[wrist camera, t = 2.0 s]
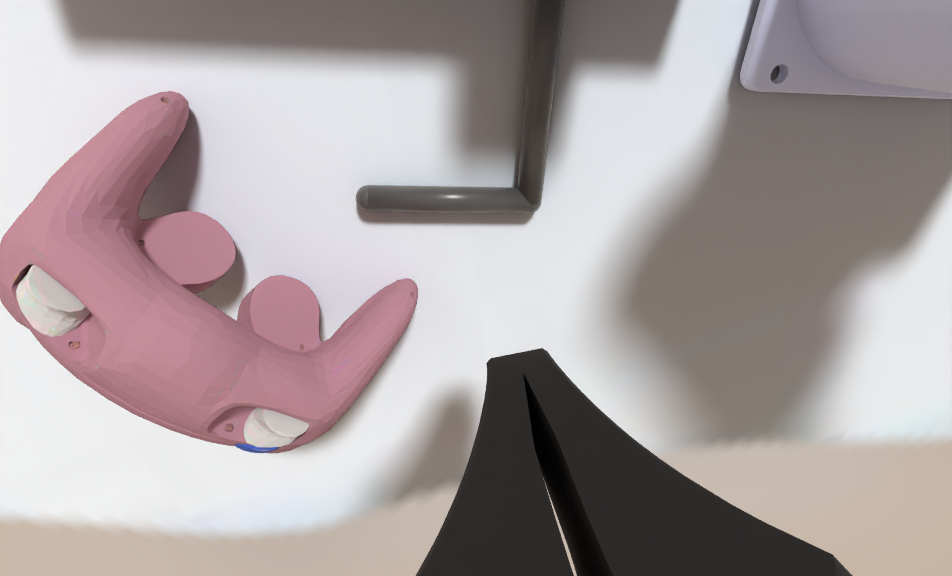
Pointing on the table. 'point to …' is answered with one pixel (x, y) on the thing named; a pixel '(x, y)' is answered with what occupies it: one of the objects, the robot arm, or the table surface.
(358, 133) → the table surface
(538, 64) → the power strip
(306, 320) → the video game controller
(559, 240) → the table surface
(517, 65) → the table surface
